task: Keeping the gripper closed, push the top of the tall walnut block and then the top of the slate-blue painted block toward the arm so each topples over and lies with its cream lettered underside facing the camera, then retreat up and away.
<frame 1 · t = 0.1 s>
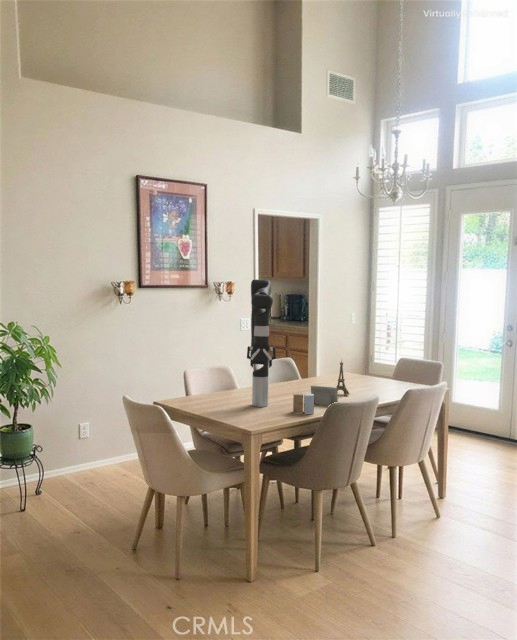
hand: (261, 367, 275), 29 cm above the table, fingers open, 8 cm apart
walnut block: (297, 412, 306), on the table
slate-blue block: (308, 412, 306), on the table
eiffel tower: (340, 395, 357), on the table
digital clock: (323, 404, 330), on the table
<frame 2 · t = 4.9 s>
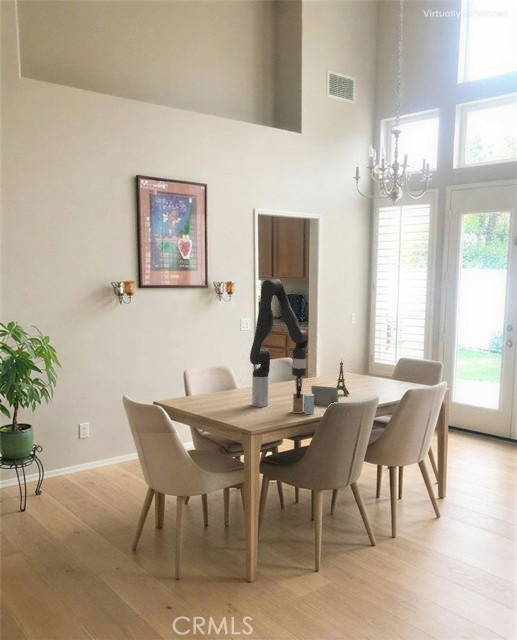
hand: (298, 398, 302), 9 cm above the table, fingers closed
walnut block: (297, 412, 306), on the table, tilted 6°, touching gripper
everything else where it was.
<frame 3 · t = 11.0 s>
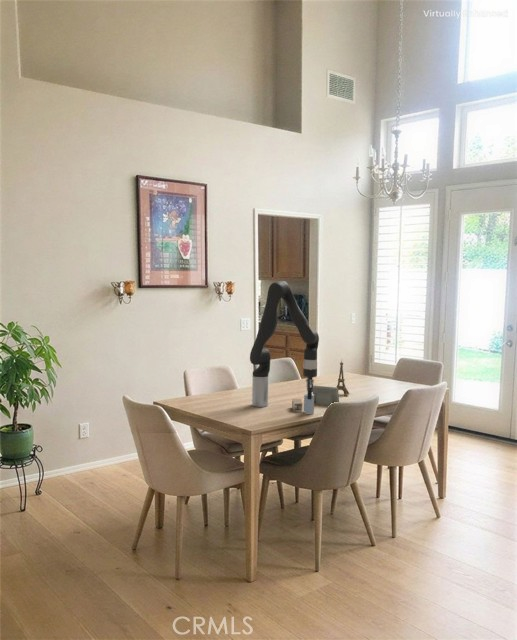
hand: (309, 399, 301), 8 cm above the table, fingers closed
walnut block: (297, 407, 308), point 2 cm above the table, tilted 90°
slate-blue block: (308, 412, 306), on the table, touching gripper
everything else where it was.
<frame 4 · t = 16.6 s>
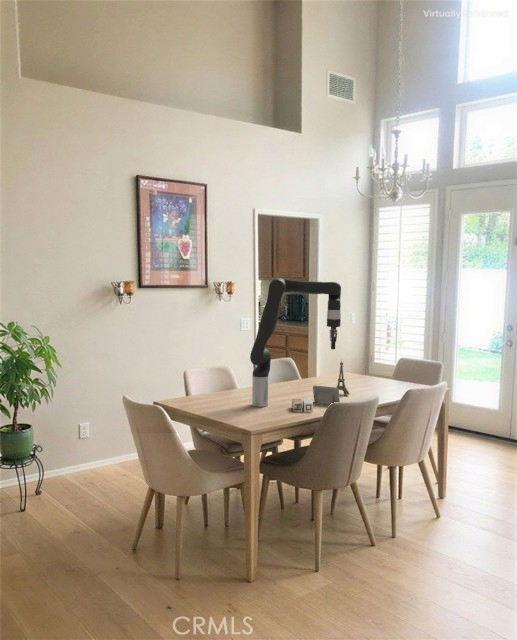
hand: (333, 349, 307), 35 cm above the table, fingers closed
slate-blue block: (308, 407, 308), point 2 cm above the table, tilted 90°
at the end: walnut block tilted 90°; slate-blue block tilted 90°; walnut block inside the target area (0.0 cm from its centre), point 2.4 cm above the table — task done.
